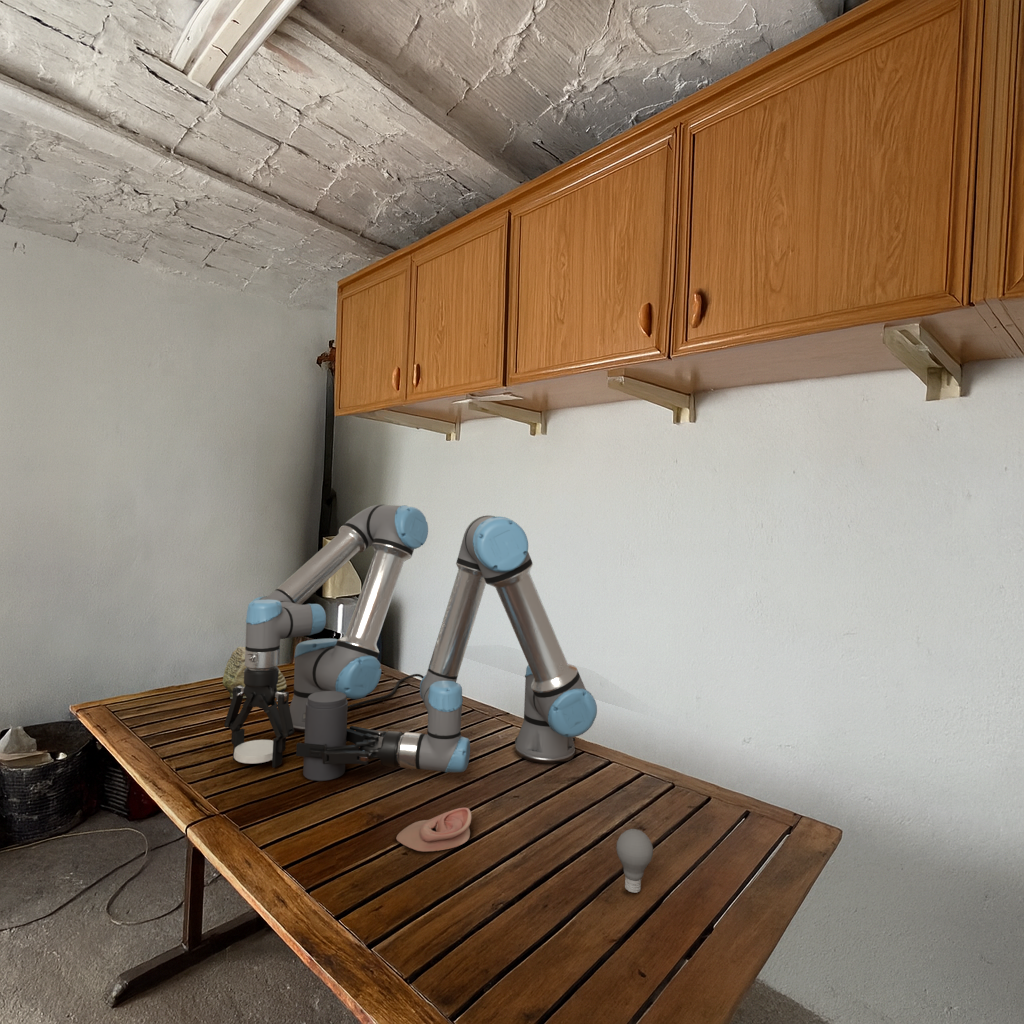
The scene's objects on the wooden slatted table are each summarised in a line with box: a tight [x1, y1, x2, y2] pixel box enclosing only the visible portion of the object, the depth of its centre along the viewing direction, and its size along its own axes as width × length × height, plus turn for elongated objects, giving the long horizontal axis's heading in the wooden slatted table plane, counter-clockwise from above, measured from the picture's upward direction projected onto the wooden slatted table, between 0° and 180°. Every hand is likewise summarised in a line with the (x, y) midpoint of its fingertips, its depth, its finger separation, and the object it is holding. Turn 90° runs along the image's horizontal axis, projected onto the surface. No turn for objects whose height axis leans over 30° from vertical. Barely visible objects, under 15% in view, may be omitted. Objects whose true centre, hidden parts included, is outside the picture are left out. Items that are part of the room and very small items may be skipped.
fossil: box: [222, 646, 288, 699], centre depth 198 cm, size 9×18×15 cm, turn 132°
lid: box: [234, 739, 273, 765], centre depth 148 cm, size 10×10×2 cm
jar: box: [302, 691, 349, 782], centre depth 146 cm, size 9×9×18 cm
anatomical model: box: [395, 807, 472, 853], centre depth 120 cm, size 13×4×12 cm
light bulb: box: [615, 828, 654, 894], centre depth 106 cm, size 6×6×10 cm
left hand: (257, 761), depth 148 cm, fingers closed on lid, 10 cm apart
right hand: (306, 740), depth 146 cm, fingers closed on jar, 9 cm apart
